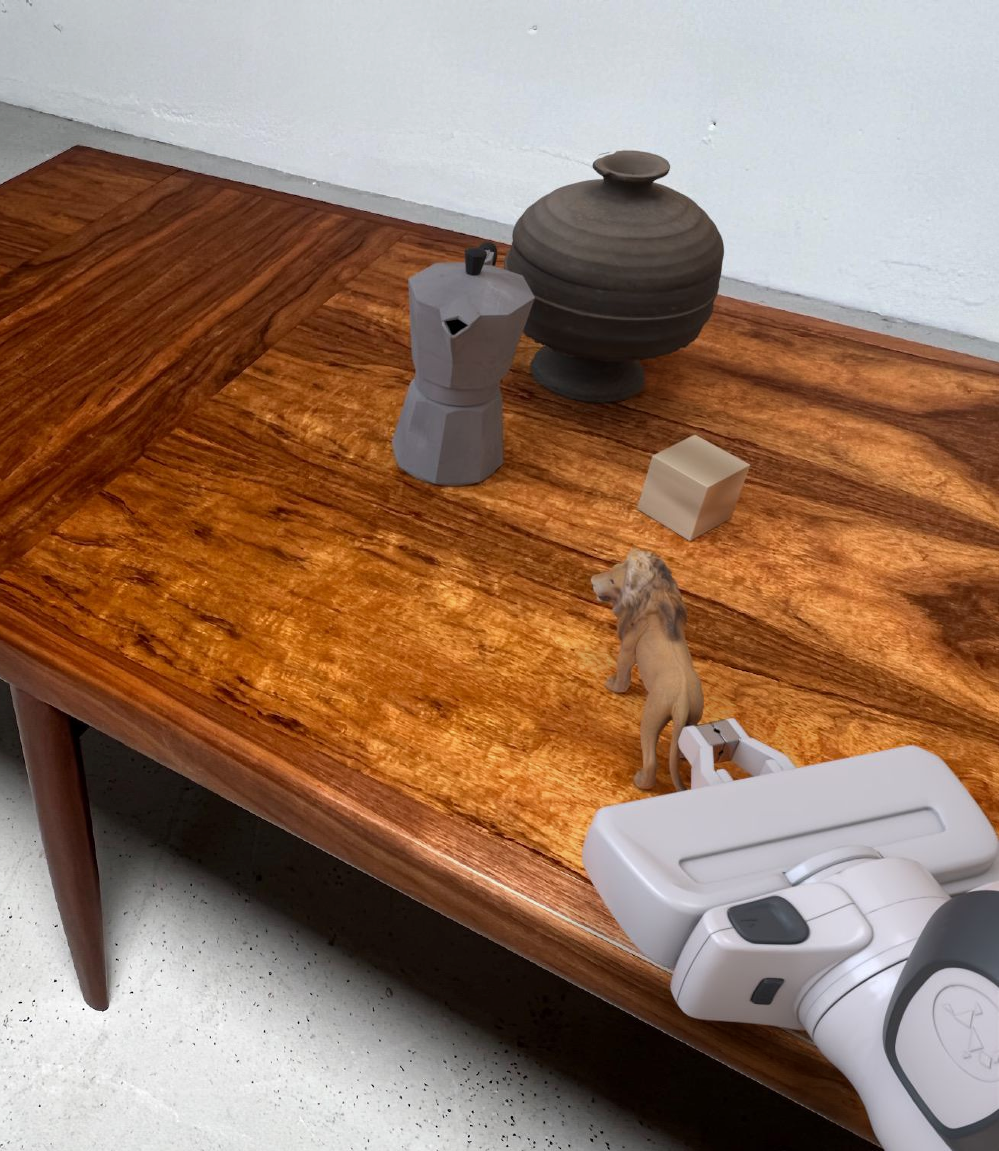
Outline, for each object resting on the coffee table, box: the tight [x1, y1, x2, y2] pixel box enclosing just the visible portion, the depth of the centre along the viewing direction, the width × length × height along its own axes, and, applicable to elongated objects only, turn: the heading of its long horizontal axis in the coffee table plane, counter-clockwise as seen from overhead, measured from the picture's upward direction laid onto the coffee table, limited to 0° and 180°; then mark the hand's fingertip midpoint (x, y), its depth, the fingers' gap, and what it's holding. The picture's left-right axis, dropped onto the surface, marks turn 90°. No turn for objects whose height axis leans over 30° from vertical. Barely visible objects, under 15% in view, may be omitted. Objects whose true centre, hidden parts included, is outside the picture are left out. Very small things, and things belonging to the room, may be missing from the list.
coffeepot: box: [391, 241, 535, 487], centre depth 88 cm, size 15×9×18 cm, turn 160°
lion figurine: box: [590, 547, 705, 793], centre depth 68 cm, size 15×5×9 cm, turn 6°
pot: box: [503, 149, 725, 404], centre depth 97 cm, size 18×18×20 cm
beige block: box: [636, 434, 751, 542], centre depth 86 cm, size 5×5×5 cm
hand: (703, 729), depth 64 cm, fingers closed
